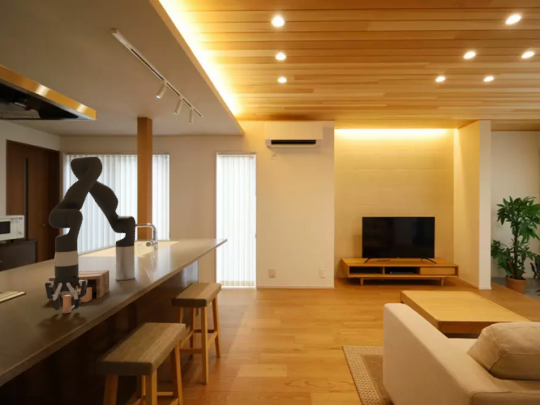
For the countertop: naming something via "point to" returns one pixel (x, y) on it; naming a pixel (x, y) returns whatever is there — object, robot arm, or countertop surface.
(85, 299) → the tethered block
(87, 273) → the walnut shelf
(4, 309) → the countertop surface
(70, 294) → the maple block
